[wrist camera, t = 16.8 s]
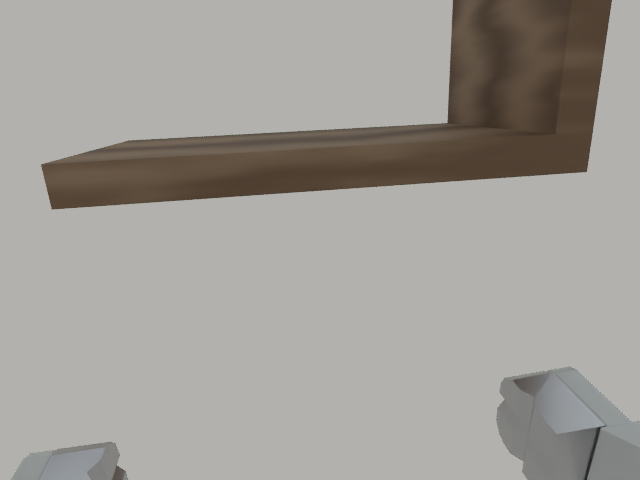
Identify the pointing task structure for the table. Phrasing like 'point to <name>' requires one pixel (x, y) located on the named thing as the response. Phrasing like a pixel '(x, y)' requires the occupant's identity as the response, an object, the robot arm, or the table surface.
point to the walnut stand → (394, 141)
